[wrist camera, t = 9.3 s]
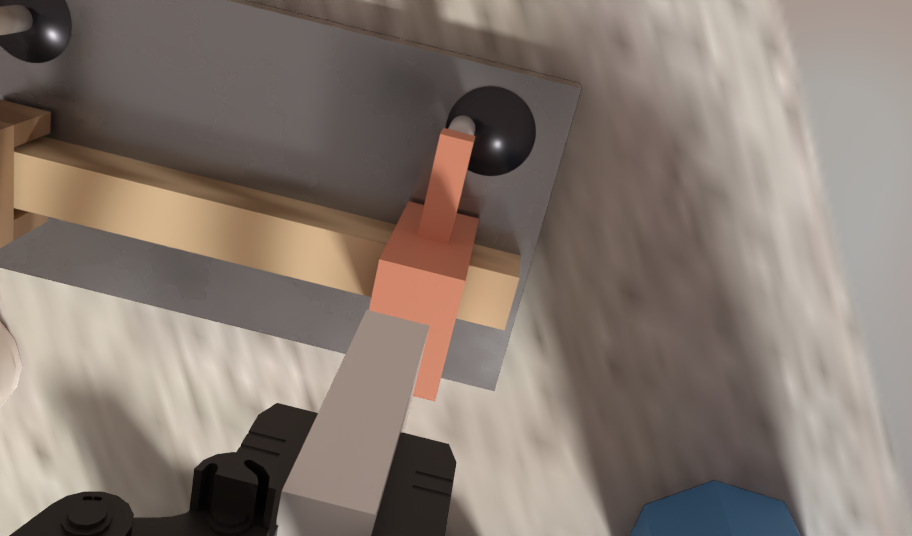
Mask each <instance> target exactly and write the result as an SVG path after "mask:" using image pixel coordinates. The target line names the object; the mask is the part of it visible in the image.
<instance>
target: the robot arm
mask: <svg viewBox="0 0 912 536" xmlns="http://www.w3.org/2000/svg"><path fill="white" fill-rule="evenodd" d="M429 326H430V325H426V324H422V323H418V322H414V321H410V320H406V319H402V318H398V317H394V316H390V315H386V314H382V313H378V312H374V311H370V310H366V312H365V314H364V316H363V319H362V321H361V323H360V325H359V327H358V329H357V331H356V334H355V336H354V338H353V340H352V342H351V344H350V346H349V348H348V351H347V353H346V355H345V357H344V359H343V361H342V363H341V366H340V368H339V370H338V372H337V374H336V376H335V378H334V381H333V383H332V385H331V387H330V389H329V391H328V393H327V395H326V398H325V400H324V402H323V404H322V406H321V408H320V410H319V413H315V412H311V411H307V410H303V409H299V408H295V407H291V406H287V405H283V404H279V403H276V404H275V405H273V406H272V407H270V408H268V409H267V410H265V411H264V412H262V413H261V414H259V415H258V417H257V418H256V420H255V422H254V423H253V425H252V427H251V428H250V430H249V433H248V434H247V435H246V437H245V439H244V440H243V442H242V444H241V447H239V449H238V450H237V452H231V453H223V454H217V455H214V456H212V457H210V458H207V459H205V460H203V461H202V462H201V463H200V464H199V465H198V466H197V467H196V468H195V469H194V476H193V485H192V493H191V502H190V510H189V512H187V513H185V514H181V515H177V516H173V517H161V518H133V516H134V514H133V512H132V510H131V508H130V506H129V504H128V503H126V502H125V501H124V500H122V499H121V498H120V497H118V496H116V495H112V494H109V493H105V492H81V493H77V494H73V495H68V496H66V497H64V498H62V499H60V500H58V501H57V502H55V503H53V504H51V505H50V506H49V507H47V508H46V509H45V510H43V511H42V512H41V513H39V514H38V515H36V516H35V517H34V518H32V519H31V520H30V521H28V522H27V523H26V524H24V525H23V526H22V527H20V528H19V529H18V530H16V531H15V532H14V533H12V534H11V535H10V536H445V531H446V524H447V518H448V512H449V505H450V499H451V493H452V487H453V480H454V474H455V468H456V460H455V458H454V455H453V453H452V451H451V448H450V446H449V444H446V443H442V442H438V441H434V440H430V439H426V438H422V437H418V436H414V435H410V434H406V433H403V432H404V429H405V425H406V421H407V417H408V413H409V409H410V405H411V401H412V397H413V392H414V388H415V384H416V380H417V376H418V372H419V368H420V363H421V359H422V355H423V351H424V347H425V343H426V339H427V334H428V330H429Z"/></svg>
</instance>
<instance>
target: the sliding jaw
mask: <svg viewBox="0 0 912 536" xmlns="http://www.w3.org/2000/svg"><path fill="white" fill-rule="evenodd" d="M474 133H475V124H474V122H473V120H472V119H471V118H469V117H468V116H464V115H461V116H457V117H456V118H454V119H453V120H452V122H451V124H450V126H449V128H448V129H446V128H443V129H442V131H441V133H440V137H439V141H438V146H437V150H436V155H435V159H434V164H433V168H432V173H431V177H430V182H429V186H428V191H427V195H426V200H425V204H424V205H422V204H418V203H414V202H410V201H408V203H407V205H406V207H405V209H404V211H403V213H402V215H401V217H400V219H399V221H398V223H397V225H396V227H395V229H394V231H393V233H392V235H391V237H390V239H389V241H388V243H387V245H386V247H385V249H384V251H383V253H382V255H381V257H380V259H379V263H378V268H377V273H376V277H375V282H374V287H373V292H372V297H371V302H370V307H369V310H370V311H374V312H378V313H382V314H386V315H390V316H394V317H398V318H402V319H406V320H410V321H414V322H418V323H422V324H426V325H430V326H429V330H428V334H427V339H426V343H425V347H424V351H423V355H422V359H421V363H420V368H419V372H418V376H417V380H416V384H415V388H414V392H413V396H416V397H420V398H424V399H428V400H432V401H435V399H436V395H437V391H438V387H439V383H440V379H441V375H442V371H443V367H444V363H445V360H446V356H447V352H448V348H449V344H450V340H451V336H452V332H453V328H454V324H455V320H456V317H457V313H458V309H459V305H460V301H461V297H462V293H463V289H464V285H465V281H466V277H467V272H468V268H469V263H470V258H471V254H472V249H473V244H474V240H475V235H476V231H477V226H478V221H479V219H478V218H474V217H470V216H466V215H462V214H458V213H457V210H458V206H459V202H460V198H461V193H462V189H463V185H464V181H465V177H466V173H467V169H468V164H469V160H470V156H471V152H472V148H473V144H474V140H475V136H474Z"/></svg>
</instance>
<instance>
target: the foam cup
mask: <svg viewBox="0 0 912 536" xmlns="http://www.w3.org/2000/svg"><path fill="white" fill-rule="evenodd" d="M21 368H22V363H21V359H20V356H19V352H18V348H17V345H16V341H15V339H14V338H13V337H12V335H11V334H10V333H9V331H8V330H7V329H6V328H5V326H4V325H3V324H2V323H1V321H0V408H1V406H2V405H3V404H4V403H5V402H6V400H7V399H8V398H9V397H10V396H11V393H12V391H14V390H15V389H16V388H17V385H18V381H19V377H20V373H21Z"/></svg>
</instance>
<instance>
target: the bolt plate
mask: <svg viewBox="0 0 912 536" xmlns="http://www.w3.org/2000/svg"><path fill="white" fill-rule="evenodd" d="M10 5H22V6H24V7H26V8H27V9H28V10H29V11H30V13H31V15H32V18H33V23H32V26H31V28H30V29H29V30H27V31H23V32H17V33H11V34H6V35H0V99H1V100H5V101H9V102H13V103H17V104H21V105H25V106H29V107H33V108H37V109H41V110H45V111H49V112H51V127H50V133H49V134H46V135H44V136H43V137H47V138H51V139H55V140H59V141H63V142H67V143H71V144H75V145H79V146H83V147H87V148H91V149H95V150H99V151H103V152H107V153H111V154H115V155H119V156H123V157H127V158H131V159H135V160H139V161H143V162H147V163H151V164H155V165H159V166H163V167H167V168H171V169H175V170H179V171H183V172H187V173H191V174H195V175H199V176H203V177H207V178H211V179H215V180H219V181H223V182H227V183H231V184H235V185H239V186H243V187H247V188H251V189H255V190H259V191H263V192H267V193H271V194H275V195H279V196H283V197H287V198H291V199H295V200H299V201H303V202H307V203H311V204H316V205H320V206H324V207H328V208H332V209H336V210H340V211H344V212H348V213H352V214H356V215H360V216H364V217H368V218H372V219H376V220H380V221H384V222H388V223H392V224H396V225H397V223H398V221H399V219H400V217H401V215H402V213H403V211H404V209H405V207H406V205H407V203H408V201H410V202H414V203H418V204H422V205H424V204H425V200H426V195H427V191H428V186H429V182H430V177H431V173H432V168H433V164H434V159H435V155H436V150H437V146H438V141H439V137H440V133H441V131H442V129H443V128H446V129H448V128H449V126H450V124H451V122H452V120H453V119H454V118H456V117H457V116H461V115H464V116H468V117H469V118H471V119H472V120H473V122H474V124H475V133H474V136H475V140H474V144H473V148H472V152H471V156H470V160H469V164H468V169H467V173H466V177H465V181H464V185H463V189H462V193H461V198H460V202H459V206H458V210H457V213H458V214H462V215H466V216H470V217H474V218H478V219H479V221H478V226H477V231H476V235H475V240H474V244H476V245H480V246H484V247H488V248H492V249H496V250H500V251H504V252H508V253H512V254H516V255H520V256H521V263H520V278H519V282H518V285H517V289H516V292H515V296H514V299H513V303H512V306H511V310H510V313H509V317H508V320H507V324H506V327H505V330H501V329H497V328H493V327H489V326H485V325H481V324H477V323H473V322H469V321H465V320H461V319H457V318H456V320H455V324H454V328H453V332H452V336H451V340H450V344H449V348H448V352H447V356H446V360H445V363H444V367H443V371H442V375H441V378H444V379H448V380H452V381H456V382H460V383H464V384H468V385H472V386H476V387H480V388H484V389H488V390H492V391H494V390H495V386H496V383H497V379H498V376H499V373H500V369H501V366H502V362H503V359H504V355H505V352H506V348H507V345H508V341H509V338H510V335H511V331H512V328H513V324H514V321H515V317H516V314H517V310H518V307H519V303H520V300H521V296H522V293H523V290H524V286H525V283H526V279H527V276H528V272H529V269H530V265H531V262H532V258H533V255H534V251H535V248H536V245H537V241H538V238H539V234H540V231H541V227H542V224H543V220H544V217H545V213H546V210H547V206H548V203H549V200H550V196H551V193H552V189H553V186H554V182H555V179H556V175H557V172H558V168H559V165H560V161H561V158H562V155H563V151H564V148H565V144H566V141H567V137H568V134H569V130H570V127H571V123H572V120H573V116H574V113H575V110H576V106H577V103H578V99H579V96H580V92H581V85H580V83H576V82H572V81H568V80H564V79H560V78H556V77H552V76H548V75H544V74H540V73H536V72H532V71H528V70H524V69H520V68H516V67H512V66H508V65H504V64H500V63H496V62H492V61H488V60H484V59H480V58H476V57H472V56H468V55H464V54H460V53H456V52H452V51H448V50H443V49H439V48H435V47H431V46H427V45H423V44H419V43H415V42H411V41H407V40H403V39H399V38H395V37H391V36H387V35H383V34H379V33H375V32H371V31H367V30H363V29H359V28H355V27H351V26H347V25H343V24H339V23H335V22H331V21H327V20H323V19H319V18H315V17H311V16H307V15H303V14H299V13H295V12H291V11H287V10H283V9H279V8H275V7H271V6H267V5H263V4H259V3H255V2H251V1H247V0H0V7H2V6H10ZM0 268H4V269H8V270H12V271H16V272H20V273H24V274H28V275H32V276H36V277H40V278H44V279H48V280H52V281H56V282H60V283H64V284H68V285H72V286H76V287H80V288H84V289H88V290H92V291H96V292H100V293H104V294H108V295H112V296H116V297H120V298H124V299H128V300H132V301H136V302H140V303H144V304H148V305H152V306H156V307H160V308H164V309H168V310H172V311H176V312H180V313H184V314H188V315H192V316H196V317H200V318H204V319H208V320H212V321H216V322H220V323H224V324H228V325H232V326H236V327H240V328H244V329H248V330H252V331H256V332H260V333H264V334H268V335H272V336H276V337H280V338H284V339H288V340H292V341H296V342H300V343H304V344H308V345H312V346H316V347H320V348H324V349H328V350H332V351H336V352H340V353H344V354H346V353H347V351H348V348H349V346H350V344H351V342H352V340H353V338H354V336H355V334H356V331H357V329H358V327H359V325H360V323H361V321H362V319H363V316H364V314H365V312H366V310H369V307H370V302H371V297H368V296H364V295H360V294H356V293H352V292H348V291H344V290H340V289H336V288H332V287H328V286H324V285H320V284H316V283H312V282H308V281H304V280H300V279H296V278H292V277H288V276H284V275H280V274H276V273H272V272H268V271H264V270H260V269H256V268H252V267H248V266H244V265H240V264H236V263H232V262H228V261H224V260H220V259H216V258H212V257H208V256H204V255H200V254H196V253H192V252H188V251H184V250H180V249H176V248H172V247H168V246H164V245H160V244H156V243H152V242H148V241H144V240H140V239H136V238H132V237H128V236H124V235H120V234H116V233H112V232H108V231H104V230H100V229H96V228H92V227H88V226H84V225H80V224H76V223H72V222H68V221H64V220H60V219H56V218H52V217H48V221H47V222H45V223H44V224H42V225H40V226H38V227H37V228H35V229H33V230H31V231H30V232H28V233H26V234H24V235H23V236H21V237H19V238H17V239H16V240H14V241H12V242H10V243H9V244H7V245H5V246H3V247H2V248H0Z"/></svg>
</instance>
